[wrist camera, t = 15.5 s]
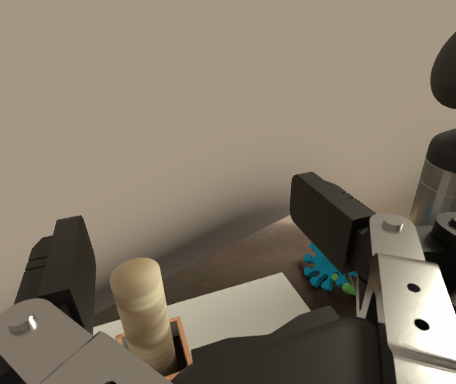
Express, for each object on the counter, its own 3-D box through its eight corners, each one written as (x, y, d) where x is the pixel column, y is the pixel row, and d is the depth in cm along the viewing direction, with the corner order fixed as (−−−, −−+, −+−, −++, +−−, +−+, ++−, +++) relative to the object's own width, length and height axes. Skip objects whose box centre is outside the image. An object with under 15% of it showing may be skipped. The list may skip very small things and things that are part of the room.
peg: (173, 344, 38) (156, 253, 32) (180, 379, 34) (163, 283, 28) (135, 357, 37) (109, 264, 30) (138, 394, 33) (110, 297, 27)
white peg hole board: (281, 285, 46) (282, 271, 45) (331, 356, 36) (334, 341, 35) (92, 343, 39) (86, 328, 37) (89, 452, 29) (82, 437, 27)
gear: (295, 246, 51) (347, 211, 47) (318, 263, 54) (369, 231, 50) (309, 306, 43) (375, 270, 38) (335, 323, 45) (400, 291, 41)
